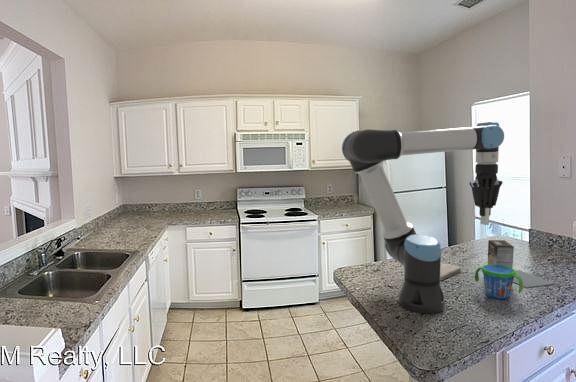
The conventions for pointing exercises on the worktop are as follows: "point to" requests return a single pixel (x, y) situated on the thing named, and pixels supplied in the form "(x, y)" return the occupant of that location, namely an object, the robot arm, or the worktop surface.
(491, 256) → the coffee box
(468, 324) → the worktop surface
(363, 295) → the worktop surface
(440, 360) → the worktop surface
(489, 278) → the snack cup
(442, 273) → the washcloth
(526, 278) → the mat
